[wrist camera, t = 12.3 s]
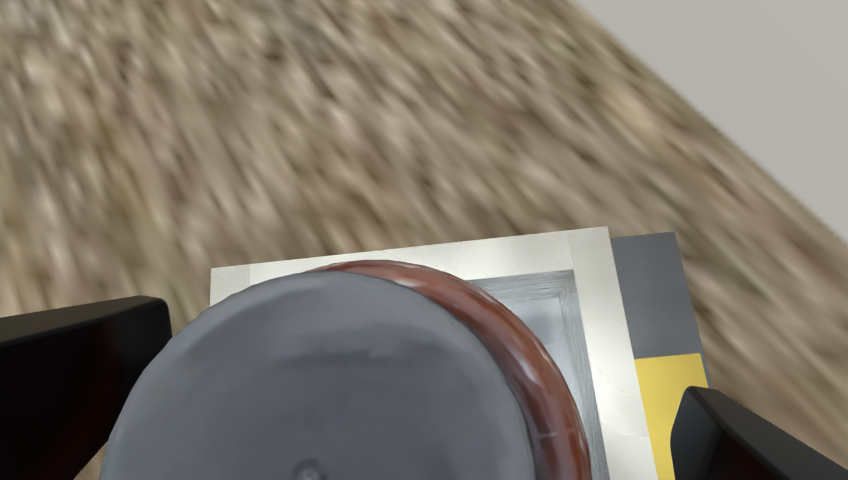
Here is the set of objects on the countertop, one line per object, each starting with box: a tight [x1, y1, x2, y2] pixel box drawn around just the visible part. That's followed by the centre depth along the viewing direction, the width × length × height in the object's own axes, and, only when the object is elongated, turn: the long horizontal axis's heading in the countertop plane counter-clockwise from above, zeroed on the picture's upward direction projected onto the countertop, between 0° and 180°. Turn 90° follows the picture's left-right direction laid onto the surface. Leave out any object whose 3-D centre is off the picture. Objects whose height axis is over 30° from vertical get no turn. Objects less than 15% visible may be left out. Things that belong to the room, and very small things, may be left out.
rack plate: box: [210, 226, 712, 480], centre depth 16 cm, size 13×11×4 cm
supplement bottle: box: [99, 260, 592, 480], centre depth 11 cm, size 6×6×11 cm
